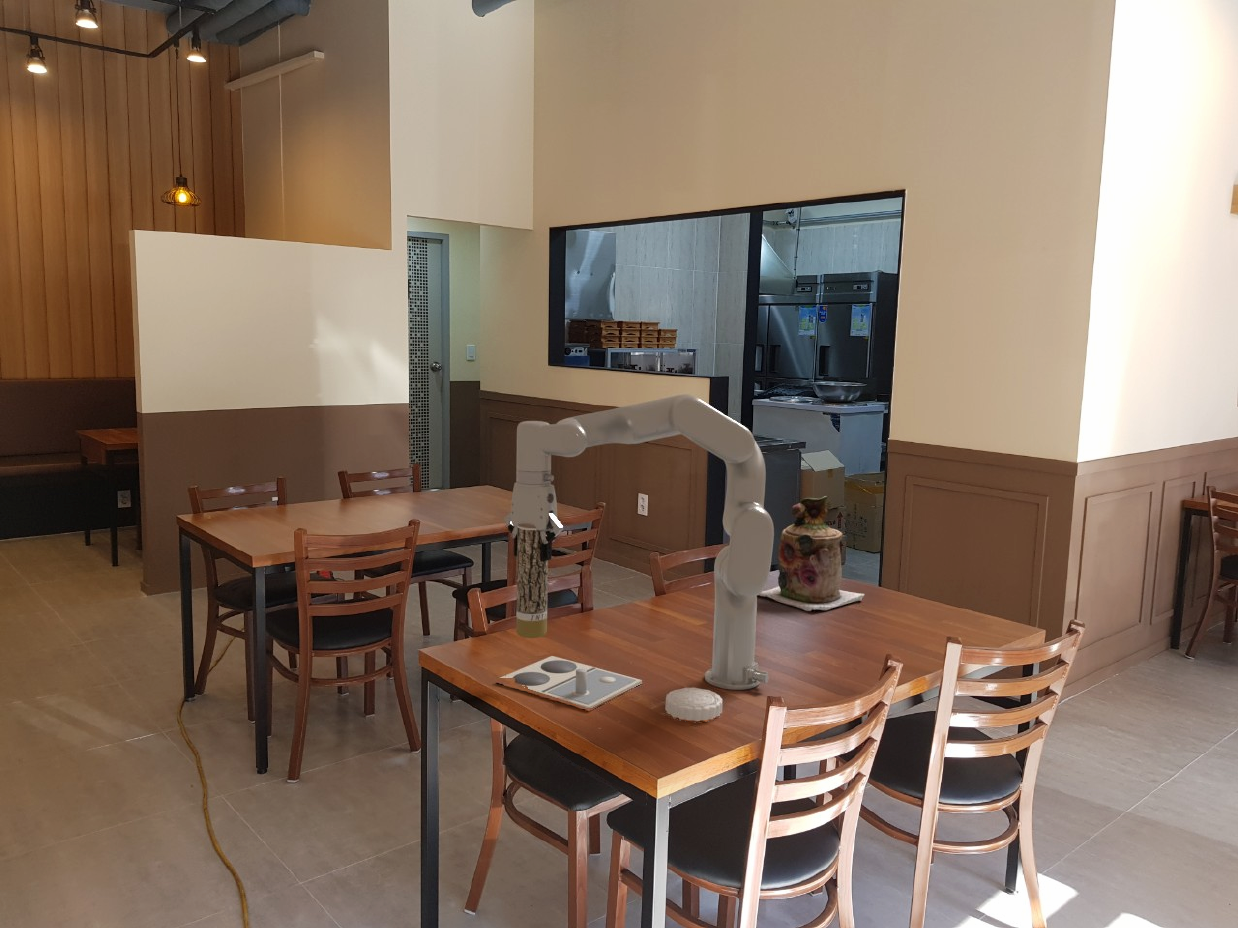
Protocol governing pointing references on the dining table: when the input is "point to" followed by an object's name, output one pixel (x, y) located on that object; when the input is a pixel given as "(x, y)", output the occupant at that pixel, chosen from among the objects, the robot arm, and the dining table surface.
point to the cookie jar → (810, 561)
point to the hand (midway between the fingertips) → (532, 557)
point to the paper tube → (531, 584)
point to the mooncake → (693, 704)
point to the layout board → (573, 681)
